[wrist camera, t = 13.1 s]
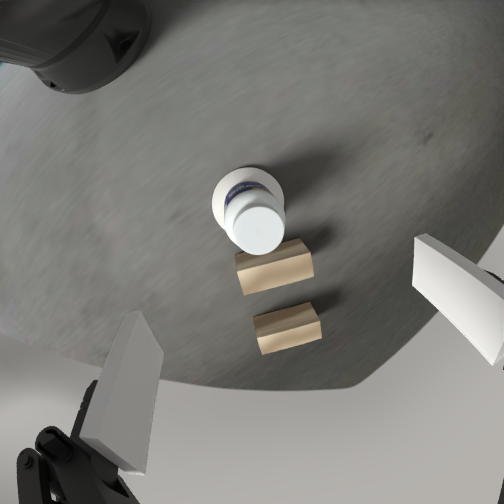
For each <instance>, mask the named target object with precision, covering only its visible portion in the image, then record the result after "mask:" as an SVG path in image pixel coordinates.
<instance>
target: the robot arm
mask: <svg viewBox="0 0 504 504" xmlns="http://www.w3.org/2000/svg"><path fill="white" fill-rule="evenodd" d="M150 25H151V16H150V11H149V8H148V6H147V4H146V3H145V1H144V0H0V62H6V63H11V64H16V65H20V66H25V67H29V68H30V69H31V70H32V71H33V72H34V73H35V74H36V75H37V76H38V78H39V79H40V80H41V81H42V82H43V83H44V84H45V85H46V86H47V87H49V88H51V89H53V90H55V91H58V92H63V93H67V94H82V93H87V92H91V91H93V90H96V89H98V88H100V87H102V86H104V85H106V84H108V83H109V82H111V81H112V80H114V79H115V78H116V77H118V76H119V75H120V74H121V73H122V72H124V71H125V70H126V69H127V68H128V67H129V66H130V64H131V63H132V62H133V61H134V60H135V58H136V57H137V56H138V54H139V53H140V51H141V50H142V48H143V46H144V44H145V42H146V40H147V37H148V34H149V31H150ZM412 285H413V286H414V287H415V288H416V289H417V290H418V291H419V292H420V293H421V294H422V295H424V296H425V297H426V298H427V299H428V300H429V301H430V302H431V303H432V304H433V305H434V306H435V307H436V308H437V309H438V310H439V311H440V312H441V313H443V315H444V316H445V317H447V318H448V319H449V320H450V321H451V322H452V323H453V324H454V325H455V326H456V327H457V329H459V331H460V332H461V333H462V334H463V335H464V336H465V337H466V338H467V339H468V340H469V341H470V342H471V343H472V344H473V345H474V346H475V347H476V348H477V350H478V351H480V353H481V354H482V355H483V356H484V357H485V358H486V359H487V361H488V362H489V363H490V364H491V365H492V366H493V365H494V364H495V363H497V362H498V361H499V360H500V359H501V358H502V357H503V356H504V281H503V280H501V279H500V278H499V277H498V276H496V275H495V274H493V273H491V272H488V271H486V270H482V269H481V268H480V267H478V266H477V265H476V264H474V263H473V262H471V261H470V260H468V259H467V258H465V257H463V256H462V255H460V254H459V253H457V252H456V251H454V250H453V249H451V248H449V247H448V246H446V245H444V244H443V243H441V242H440V241H438V240H436V239H435V238H433V237H431V236H429V235H428V234H423V235H419V236H416V237H415V245H414V268H413V282H412ZM163 357H164V353H163V351H162V349H161V348H160V346H159V344H158V342H157V341H156V339H155V337H154V335H153V333H152V332H151V330H150V328H149V326H148V324H147V322H146V320H145V319H144V317H143V315H142V313H141V311H140V310H139V311H134V312H130V313H126V315H125V317H124V319H123V321H122V324H121V326H120V328H119V330H118V333H117V335H116V337H115V340H114V342H113V344H112V347H111V349H110V352H109V354H108V356H107V359H106V361H105V364H104V366H103V369H102V372H101V374H100V377H99V379H98V380H94V381H93V382H92V383H91V385H90V386H89V387H88V388H87V390H86V392H85V395H84V398H83V402H82V403H81V406H80V410H79V411H78V414H77V417H76V420H75V423H74V426H73V429H72V432H71V436H70V438H69V437H68V436H67V435H65V434H64V433H63V432H62V431H61V430H59V428H57V427H55V426H49V427H46V428H44V429H43V430H42V431H41V432H40V433H39V435H38V436H37V438H36V442H35V449H36V450H37V451H38V452H39V453H41V454H42V455H40V454H39V453H38V452H36V451H35V450H34V449H32V448H26V449H24V450H22V451H21V452H20V454H19V456H18V458H17V484H18V497H19V504H140V503H139V502H138V500H137V499H136V498H135V496H134V495H133V494H132V492H131V491H130V489H129V488H128V486H127V485H126V484H125V482H124V480H123V479H122V478H121V477H120V476H119V475H118V468H120V469H122V470H123V471H124V472H126V473H127V474H138V475H145V474H146V465H147V456H148V449H149V441H150V434H151V426H152V419H153V413H154V407H155V401H156V395H157V388H158V384H159V378H160V373H161V367H162V362H163ZM503 370H504V368H503ZM51 493H52V494H53V495H55V496H56V501H54V500H52V498H51ZM498 504H504V480H503V484H502V489H501V493H500V496H499V500H498Z"/></svg>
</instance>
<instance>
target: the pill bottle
mask: <svg viewBox="0 0 504 504" xmlns="http://www.w3.org/2000/svg"><path fill="white" fill-rule="evenodd" d="M224 225H225V229H226V232H227V234H228V236H229V237H230V239H231V240H232V241H233V242H234V243H235V244H237V245H238V246H239V247H240V248H241V249H242V250H244V251H245V252H247V253H250V254H254V255H263V254H266V253H269V252H271V251H273V250H274V249H275V248H277V247H278V245H279V244H280V243H281V241H282V239H283V236H284V227H285V212H284V209H283V207H282V205H281V203H280V202H279V200H278V199H277V198H276V197H275V196H274V195H273V194H272V193H271V192H270V191H269V190H268V188H267V187H265V186H264V185H263V184H261V183H259V182H256V181H251V180H247V181H242V182H239V183H237V184H235V185H234V186H233V187H232V188H231V189H230V190H229V191H228V193H227V195H226V197H225V201H224Z"/></svg>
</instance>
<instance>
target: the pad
mask: <svg viewBox="0 0 504 504" xmlns="http://www.w3.org/2000/svg"><path fill="white" fill-rule="evenodd" d="M247 180H251V181H256V182H259V183H261V184H263V185H264V186H265V187H267V188H268V190H269V191H270V192H271V193H272V194H273V195H274V196H275V197H276V198H277V199H278V200H279V202H280V203H281V205H282V207H283V209H284V195H283V192H282V189H281V187H280V185H279V183H278V182H277V181H276V180H275V178H273V177H272V176H271V175H270V174H268V173H267V172H265V171H263V170H260V169H257V168H251V167H246V168H239V169H236V170H234V171H232V172H230V173H228V174H227V175H226V176H224V177H223V178H222V179H221V180H220V182H219V183H218V185H217V186H216V188H215V191H214V194H213V199H212V208H213V213H214V216H215V218H216V220H217V222H218V223H219V225H220V226H221V227H222V228H223V229H224V230H225V231H226V229H225V225H224V201H225V197H226V195H227V193H228V191H229V190H230V189H231V188H232V187H233V186H234V185H235V184H237V183H239V182H242V181H247Z"/></svg>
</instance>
